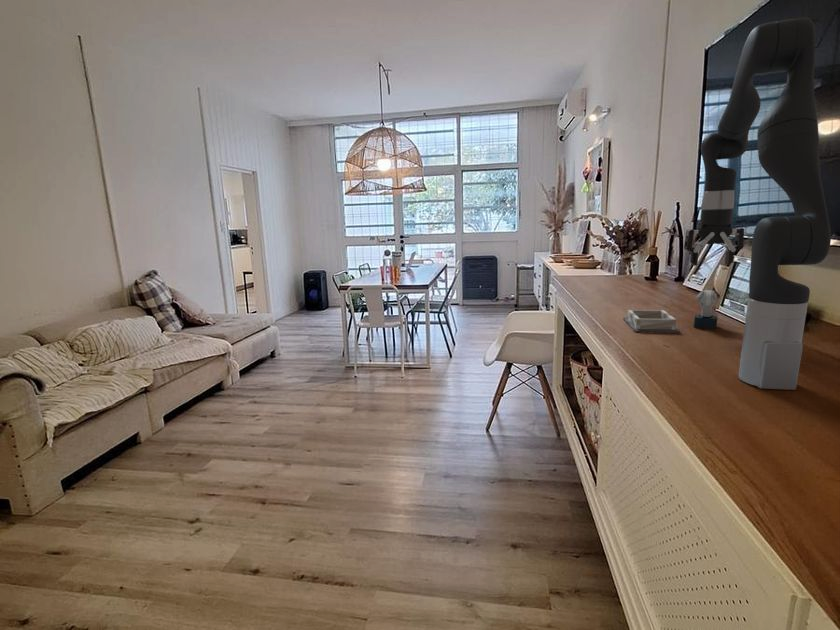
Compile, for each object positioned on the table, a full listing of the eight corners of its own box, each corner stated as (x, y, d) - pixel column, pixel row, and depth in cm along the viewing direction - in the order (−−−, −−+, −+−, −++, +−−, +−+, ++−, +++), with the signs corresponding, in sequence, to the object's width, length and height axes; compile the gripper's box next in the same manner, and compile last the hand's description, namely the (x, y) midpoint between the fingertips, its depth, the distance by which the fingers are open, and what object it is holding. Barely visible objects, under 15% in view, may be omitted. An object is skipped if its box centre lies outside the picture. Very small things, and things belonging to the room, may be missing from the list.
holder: (680, 333, 125) (681, 321, 125) (634, 332, 128) (635, 320, 127) (663, 319, 140) (664, 308, 140) (623, 319, 143) (623, 308, 142)
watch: (715, 324, 133) (719, 288, 130) (716, 330, 126) (720, 293, 124) (693, 322, 136) (696, 287, 133) (693, 329, 129) (697, 292, 126)
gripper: (693, 209, 121) (688, 267, 125) (752, 206, 118) (745, 266, 121) (684, 208, 128) (679, 264, 132) (739, 206, 125) (733, 263, 129)
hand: (711, 265), depth 127 cm, fingers open, 8 cm apart
